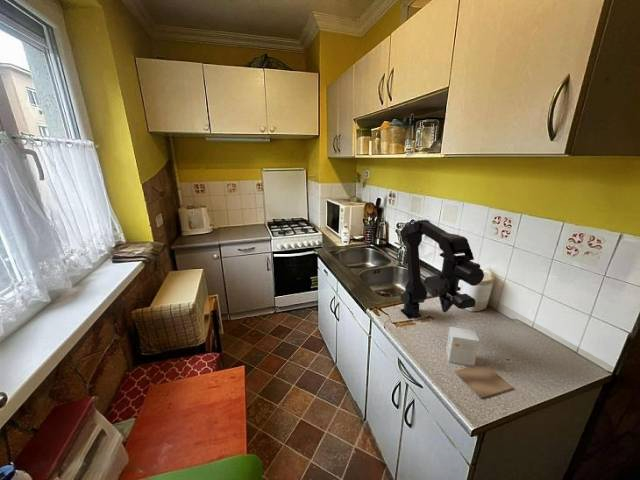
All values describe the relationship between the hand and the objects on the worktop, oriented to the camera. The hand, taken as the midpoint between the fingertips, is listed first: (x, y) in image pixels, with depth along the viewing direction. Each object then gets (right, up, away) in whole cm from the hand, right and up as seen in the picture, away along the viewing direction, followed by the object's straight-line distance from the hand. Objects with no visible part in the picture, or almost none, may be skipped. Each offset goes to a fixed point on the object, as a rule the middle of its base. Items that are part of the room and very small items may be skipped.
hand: (444, 311), depth 93 cm
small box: (+3, -15, -4) cm, 16 cm away
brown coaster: (+6, -18, -13) cm, 23 cm away
